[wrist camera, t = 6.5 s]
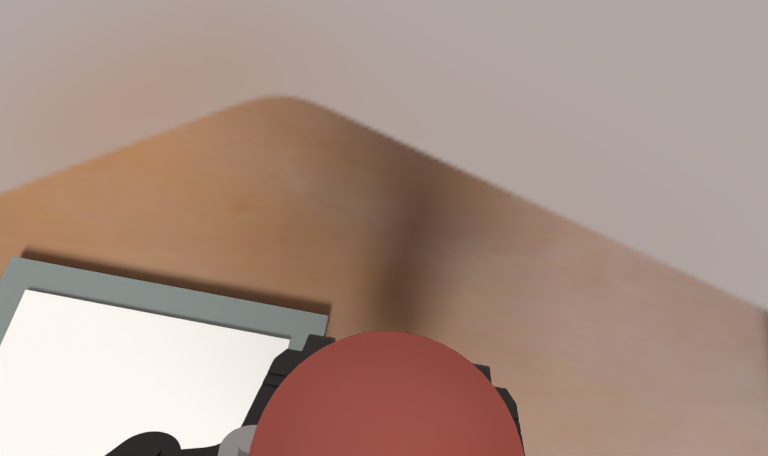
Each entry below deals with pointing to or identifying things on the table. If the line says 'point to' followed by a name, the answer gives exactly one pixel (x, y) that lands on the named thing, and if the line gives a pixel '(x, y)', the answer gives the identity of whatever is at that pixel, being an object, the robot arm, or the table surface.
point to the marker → (386, 403)
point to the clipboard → (129, 359)
